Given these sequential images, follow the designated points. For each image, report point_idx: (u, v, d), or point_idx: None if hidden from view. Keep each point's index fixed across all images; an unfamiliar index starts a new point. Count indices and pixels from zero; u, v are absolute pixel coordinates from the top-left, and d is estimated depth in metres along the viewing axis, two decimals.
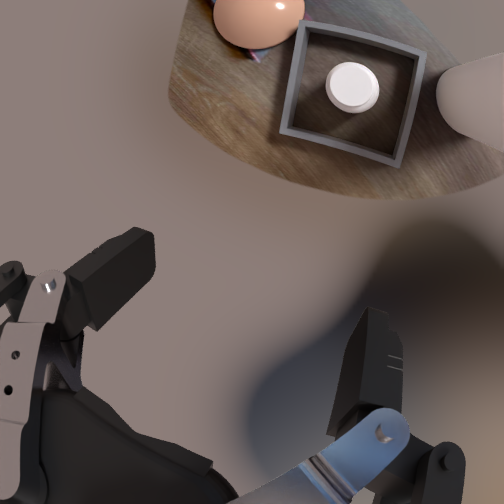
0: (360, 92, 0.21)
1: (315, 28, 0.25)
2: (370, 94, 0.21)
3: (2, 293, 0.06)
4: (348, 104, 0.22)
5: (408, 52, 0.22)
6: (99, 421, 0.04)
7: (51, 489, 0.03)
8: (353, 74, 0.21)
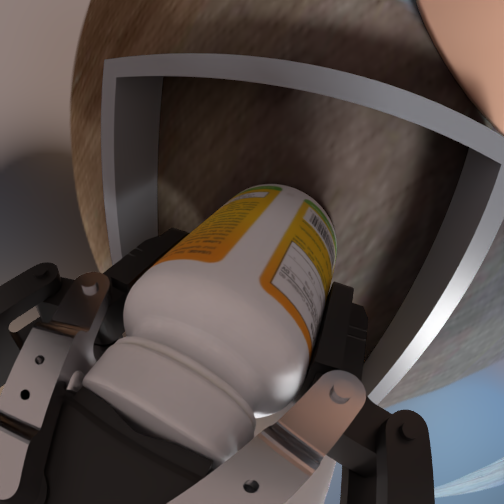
0: None
1: (485, 193, 0.07)
2: None
3: (30, 297, 0.06)
4: None
5: None
6: (99, 421, 0.04)
7: (50, 498, 0.03)
8: None
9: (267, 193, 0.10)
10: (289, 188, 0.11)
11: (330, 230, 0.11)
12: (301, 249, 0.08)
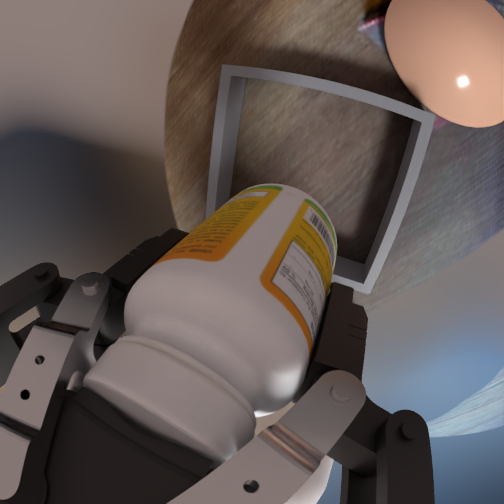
0: None
1: (416, 137, 0.16)
2: None
3: (30, 297, 0.06)
4: None
5: (369, 269, 0.21)
6: (99, 421, 0.04)
7: (50, 498, 0.03)
8: None
9: (267, 193, 0.10)
10: (290, 187, 0.11)
11: (330, 230, 0.11)
12: (301, 248, 0.08)
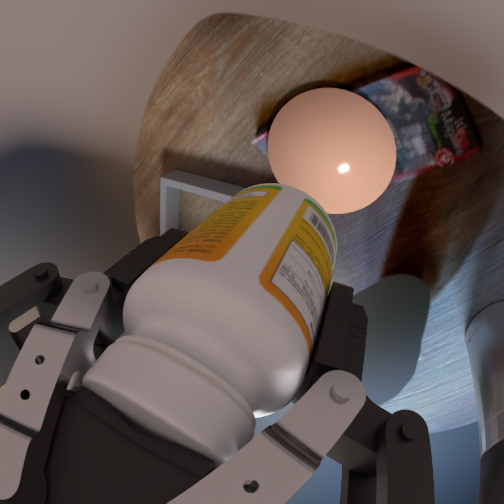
0: None
1: None
2: None
3: (30, 297, 0.06)
4: None
5: None
6: (99, 421, 0.04)
7: (50, 498, 0.03)
8: None
9: (266, 192, 0.10)
10: (289, 187, 0.11)
11: (330, 229, 0.11)
12: (301, 248, 0.08)
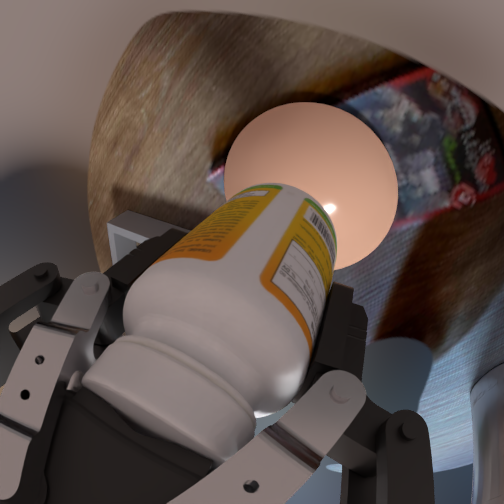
0: None
1: None
2: None
3: (30, 297, 0.06)
4: None
5: None
6: (99, 421, 0.04)
7: (50, 498, 0.03)
8: None
9: (267, 192, 0.10)
10: (290, 186, 0.11)
11: (330, 229, 0.11)
12: (301, 248, 0.08)
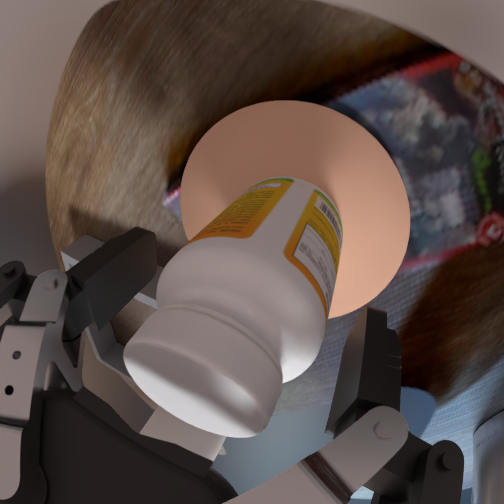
0: (176, 406, 0.07)
1: None
2: (182, 419, 0.07)
3: (3, 293, 0.06)
4: None
5: None
6: (99, 421, 0.04)
7: (51, 489, 0.03)
8: (230, 415, 0.06)
9: (281, 184, 0.11)
10: (300, 179, 0.12)
11: (337, 217, 0.12)
12: (315, 230, 0.09)
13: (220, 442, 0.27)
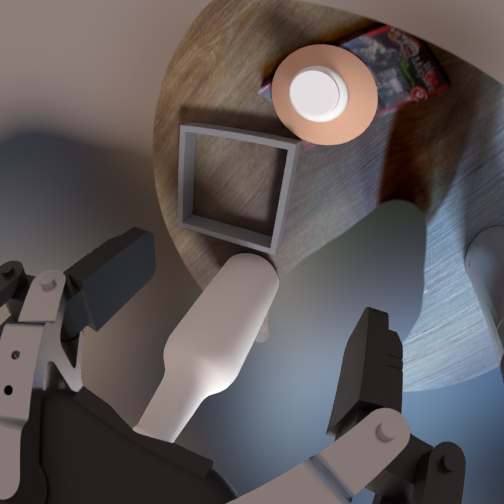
0: (306, 102, 0.21)
1: None
2: (306, 113, 0.21)
3: (1, 293, 0.06)
4: (290, 89, 0.20)
5: None
6: (99, 421, 0.04)
7: (51, 489, 0.03)
8: (327, 95, 0.20)
9: None
10: None
11: None
12: None
13: (274, 288, 0.41)
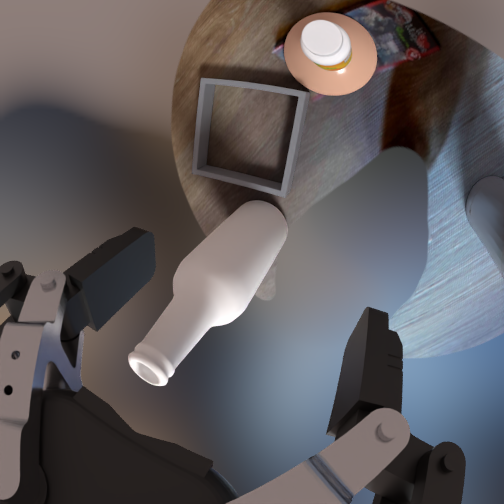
0: (316, 43, 0.22)
1: None
2: (315, 52, 0.22)
3: (1, 293, 0.06)
4: (302, 34, 0.22)
5: (283, 181, 0.38)
6: (99, 421, 0.04)
7: (51, 489, 0.03)
8: (332, 38, 0.21)
9: None
10: None
11: None
12: None
13: (284, 234, 0.42)
